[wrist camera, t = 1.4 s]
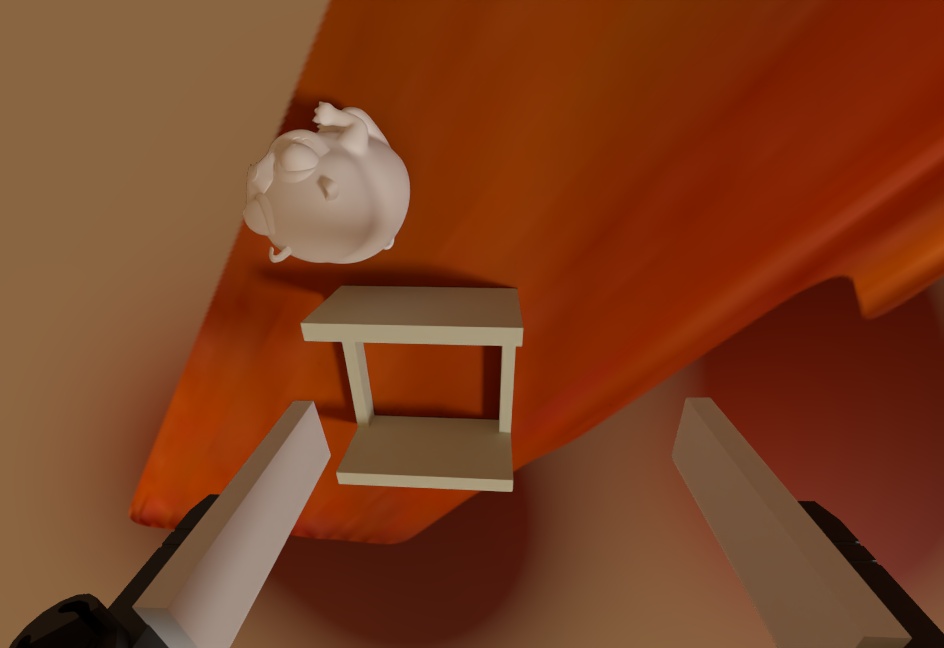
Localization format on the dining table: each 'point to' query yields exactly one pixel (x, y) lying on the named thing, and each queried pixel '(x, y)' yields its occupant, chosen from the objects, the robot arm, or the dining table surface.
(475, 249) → the dining table surface
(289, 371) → the dining table surface
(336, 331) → the beige open frame
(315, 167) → the figurine
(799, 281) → the dining table surface
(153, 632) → the robot arm
